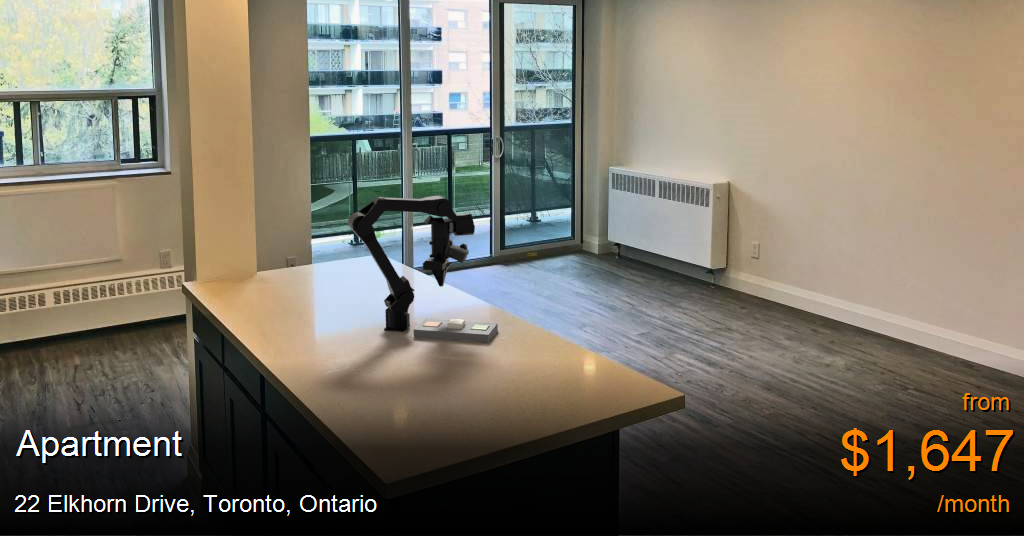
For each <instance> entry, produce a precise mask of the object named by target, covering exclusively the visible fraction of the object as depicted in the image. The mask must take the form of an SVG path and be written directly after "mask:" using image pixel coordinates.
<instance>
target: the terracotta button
mask: <svg viewBox="0 0 1024 536" xmlns="http://www.w3.org/2000/svg"><path fill="white" fill-rule="evenodd" d="M440 325H441V322H429V321H427V322H426V323H425V324H424V325H423V327H439V326H440Z"/></svg>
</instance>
